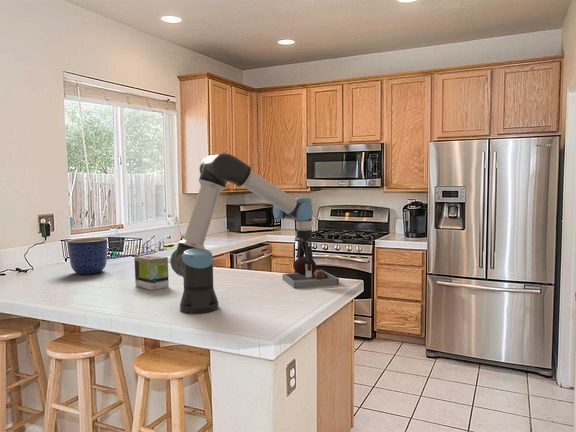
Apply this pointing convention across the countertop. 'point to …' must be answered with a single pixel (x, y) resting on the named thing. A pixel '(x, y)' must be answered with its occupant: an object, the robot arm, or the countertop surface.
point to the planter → (88, 254)
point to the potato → (303, 266)
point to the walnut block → (319, 274)
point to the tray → (309, 280)
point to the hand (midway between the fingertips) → (305, 274)
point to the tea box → (151, 272)
